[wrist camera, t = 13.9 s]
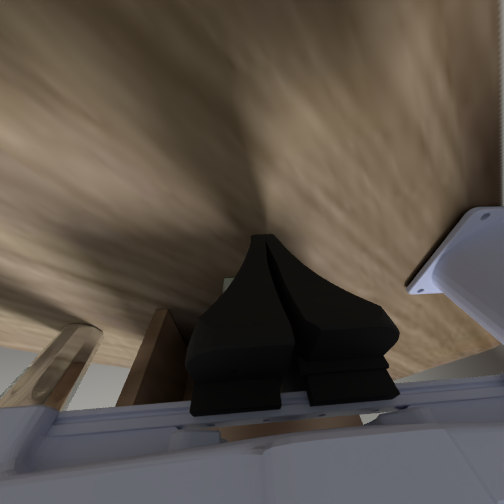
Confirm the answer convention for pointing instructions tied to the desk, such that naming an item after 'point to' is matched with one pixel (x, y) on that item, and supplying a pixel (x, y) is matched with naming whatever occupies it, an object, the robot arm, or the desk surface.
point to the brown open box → (181, 384)
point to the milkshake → (55, 370)
